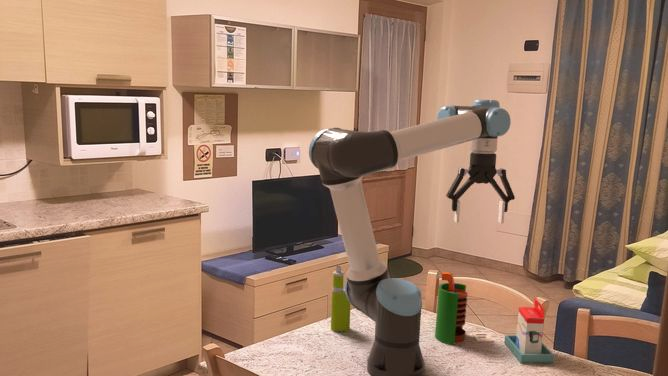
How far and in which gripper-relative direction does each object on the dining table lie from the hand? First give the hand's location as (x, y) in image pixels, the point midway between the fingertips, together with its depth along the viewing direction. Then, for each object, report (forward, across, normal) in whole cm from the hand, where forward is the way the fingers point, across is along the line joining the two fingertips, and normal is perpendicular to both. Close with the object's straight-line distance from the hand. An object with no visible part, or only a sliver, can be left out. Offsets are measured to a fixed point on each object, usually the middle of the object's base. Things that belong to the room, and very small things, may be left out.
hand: (478, 222), depth 175 cm
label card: (+35, +2, -5) cm, 35 cm away
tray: (+35, +12, -16) cm, 40 cm away
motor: (+35, -8, -5) cm, 36 cm away
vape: (+35, -41, +1) cm, 54 cm away
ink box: (+34, +12, -16) cm, 40 cm away
